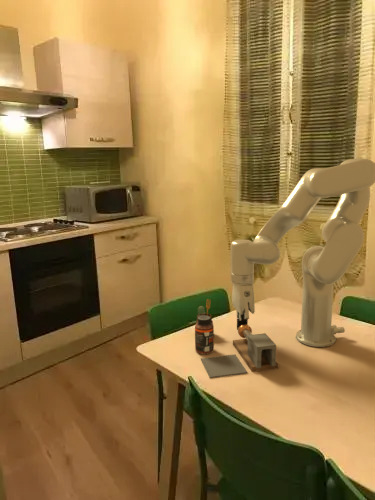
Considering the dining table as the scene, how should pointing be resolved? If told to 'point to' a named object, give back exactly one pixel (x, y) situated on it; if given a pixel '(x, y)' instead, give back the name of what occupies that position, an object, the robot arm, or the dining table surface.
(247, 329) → the shaft
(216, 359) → the pad
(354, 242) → the robot arm
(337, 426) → the dining table surface
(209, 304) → the utensil holder
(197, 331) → the supplement bottle
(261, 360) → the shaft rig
